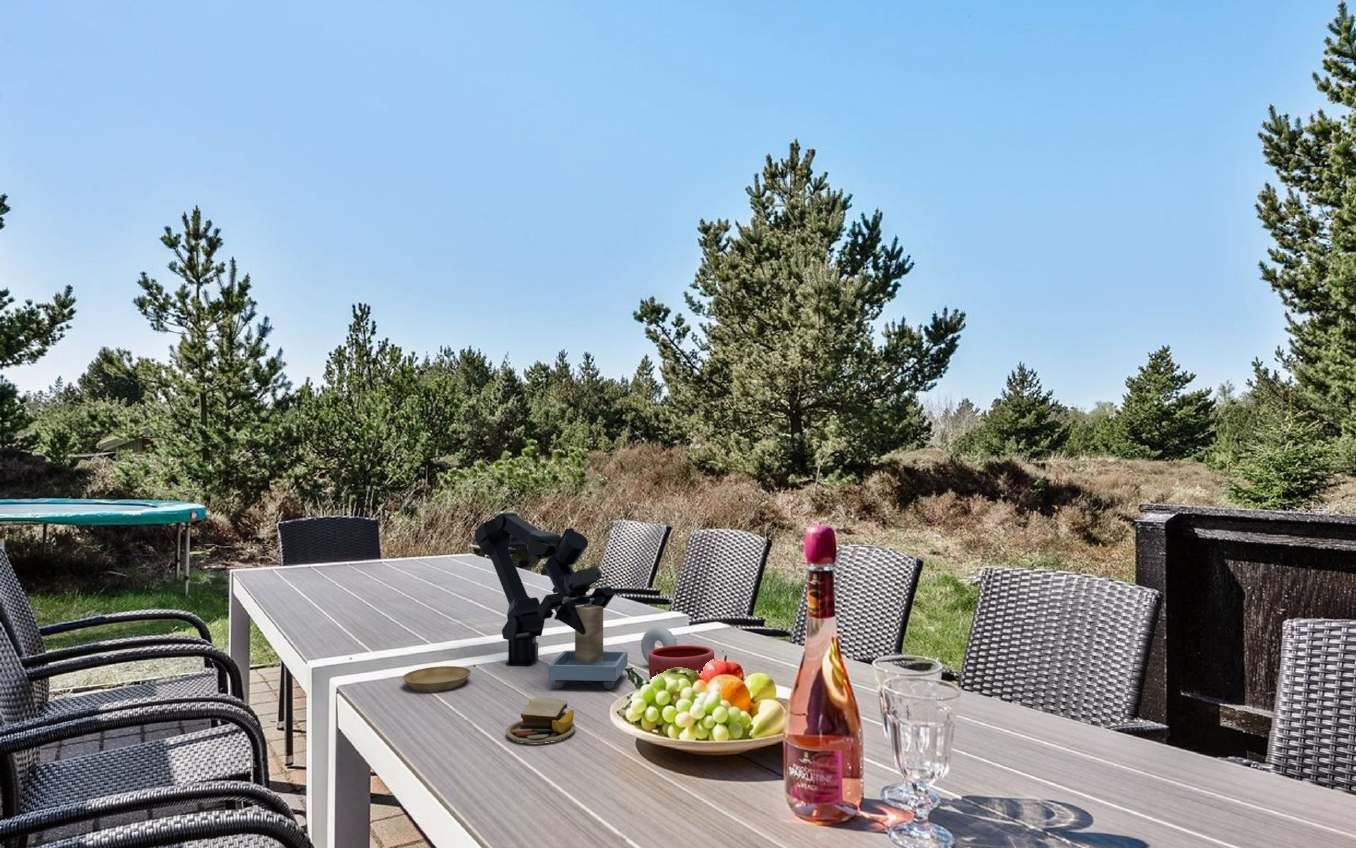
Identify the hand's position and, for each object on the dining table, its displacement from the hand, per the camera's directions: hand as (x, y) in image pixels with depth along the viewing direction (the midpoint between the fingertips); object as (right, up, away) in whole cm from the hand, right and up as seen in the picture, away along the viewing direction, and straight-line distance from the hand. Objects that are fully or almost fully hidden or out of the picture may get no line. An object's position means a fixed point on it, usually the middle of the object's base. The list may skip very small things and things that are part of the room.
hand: (592, 632), depth 173 cm
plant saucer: (-35, -12, 0) cm, 37 cm away
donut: (+15, -12, +13) cm, 23 cm away
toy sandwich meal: (-6, -10, -33) cm, 35 cm away
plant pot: (+20, -10, -21) cm, 31 cm away
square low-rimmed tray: (-1, -12, 0) cm, 12 cm away
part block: (-1, -7, +1) cm, 7 cm away
